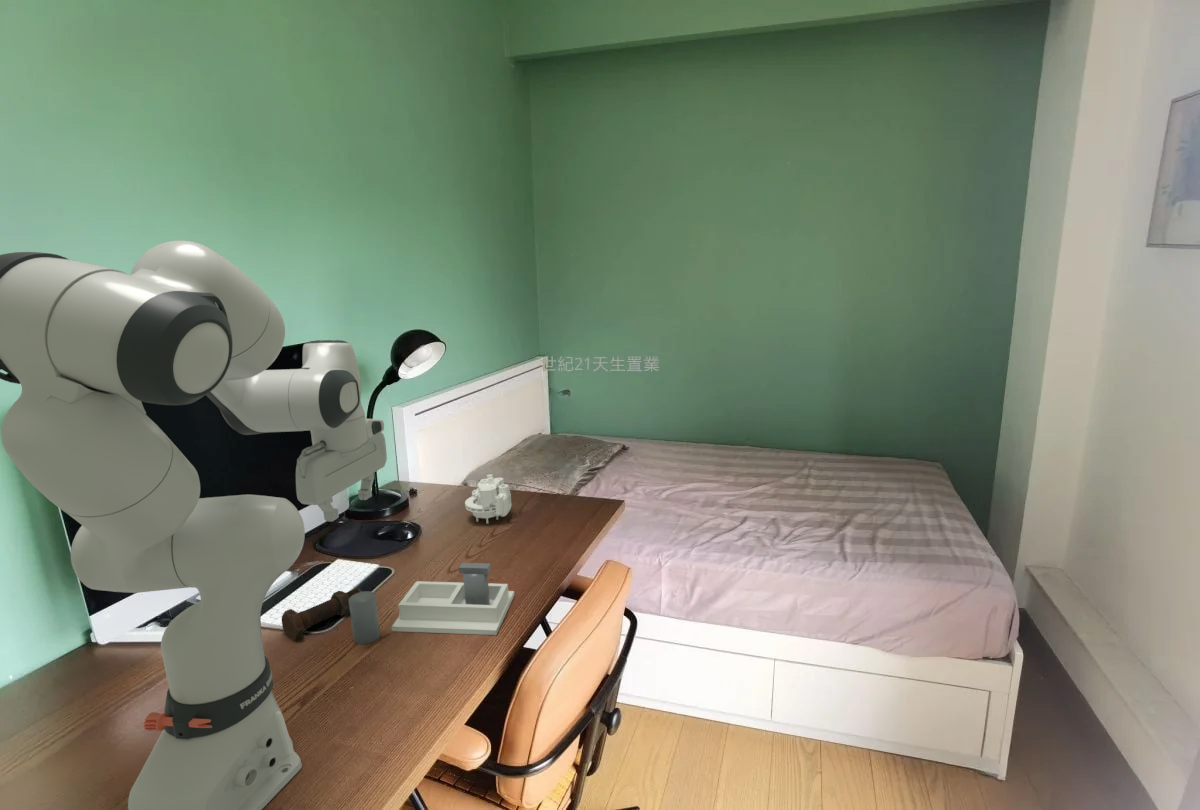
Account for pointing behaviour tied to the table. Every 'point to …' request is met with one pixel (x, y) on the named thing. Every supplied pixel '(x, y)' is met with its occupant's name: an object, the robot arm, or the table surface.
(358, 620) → the grey upright cylinder
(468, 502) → the mechanical part
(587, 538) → the table surface
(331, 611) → the bolt
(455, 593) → the housing
